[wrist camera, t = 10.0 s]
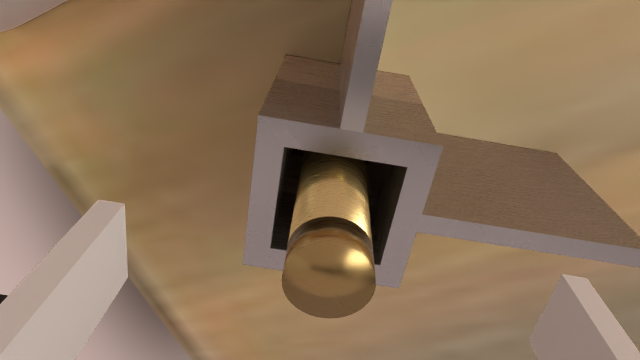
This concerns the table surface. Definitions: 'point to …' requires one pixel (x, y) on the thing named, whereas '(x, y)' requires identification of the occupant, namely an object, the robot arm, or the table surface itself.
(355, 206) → the pin
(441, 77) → the table surface
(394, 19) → the table surface
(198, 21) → the table surface
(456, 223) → the hinge
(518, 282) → the table surface
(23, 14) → the milk carton
